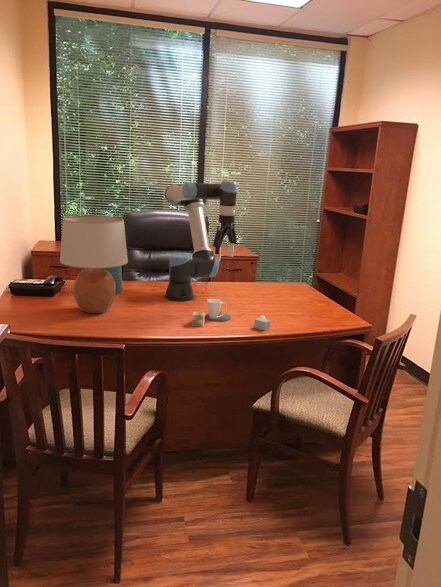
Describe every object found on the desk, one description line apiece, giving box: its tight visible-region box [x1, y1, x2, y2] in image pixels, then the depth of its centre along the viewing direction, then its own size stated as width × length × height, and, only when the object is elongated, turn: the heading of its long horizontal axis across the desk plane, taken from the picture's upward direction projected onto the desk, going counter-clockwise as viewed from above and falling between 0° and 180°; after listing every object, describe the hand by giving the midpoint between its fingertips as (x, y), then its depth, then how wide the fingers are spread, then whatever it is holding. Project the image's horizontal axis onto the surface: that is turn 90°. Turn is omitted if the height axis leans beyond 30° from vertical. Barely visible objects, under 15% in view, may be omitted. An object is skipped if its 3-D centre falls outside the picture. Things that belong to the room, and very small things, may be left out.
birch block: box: [191, 311, 206, 327], centre depth 216 cm, size 5×5×5 cm
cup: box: [206, 298, 229, 319], centre depth 225 cm, size 7×10×8 cm
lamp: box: [59, 215, 129, 314], centre depth 222 cm, size 30×30×43 cm
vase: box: [103, 266, 124, 294], centre depth 260 cm, size 16×16×27 cm
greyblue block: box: [253, 317, 272, 332], centre depth 216 cm, size 6×4×4 cm, turn 48°
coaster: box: [205, 312, 232, 322], centre depth 228 cm, size 12×12×1 cm
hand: (224, 258), depth 234 cm, fingers open, 13 cm apart
